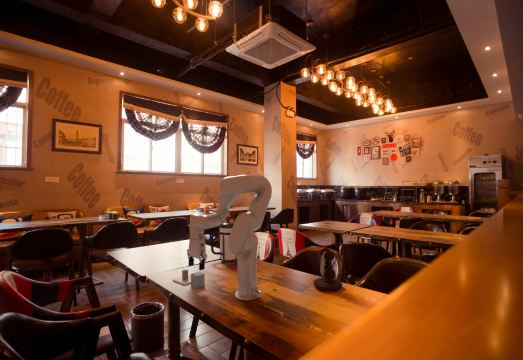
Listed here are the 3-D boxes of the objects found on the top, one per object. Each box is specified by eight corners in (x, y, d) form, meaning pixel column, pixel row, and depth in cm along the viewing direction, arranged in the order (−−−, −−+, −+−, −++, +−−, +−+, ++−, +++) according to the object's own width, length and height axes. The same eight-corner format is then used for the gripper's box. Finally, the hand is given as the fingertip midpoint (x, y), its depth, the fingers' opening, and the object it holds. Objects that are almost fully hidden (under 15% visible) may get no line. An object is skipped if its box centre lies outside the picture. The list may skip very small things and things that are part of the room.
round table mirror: (310, 282, 155) (310, 246, 155) (336, 281, 156) (336, 245, 156) (317, 293, 141) (317, 253, 141) (346, 292, 142) (345, 252, 142)
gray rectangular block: (204, 285, 153) (204, 273, 153) (196, 288, 149) (196, 276, 149) (198, 283, 156) (198, 271, 157) (190, 286, 153) (190, 274, 153)
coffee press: (225, 256, 213) (225, 216, 213) (243, 259, 205) (242, 218, 205) (210, 262, 198) (209, 219, 198) (228, 265, 190) (227, 221, 190)
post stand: (198, 281, 160) (197, 270, 160) (184, 285, 153) (184, 274, 154) (186, 276, 168) (186, 266, 168) (172, 280, 161) (172, 270, 161)
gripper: (212, 237, 150) (211, 269, 150) (193, 233, 162) (192, 262, 162) (200, 239, 145) (200, 273, 145) (181, 235, 156) (181, 265, 156)
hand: (196, 267), depth 153 cm, fingers open, 9 cm apart
